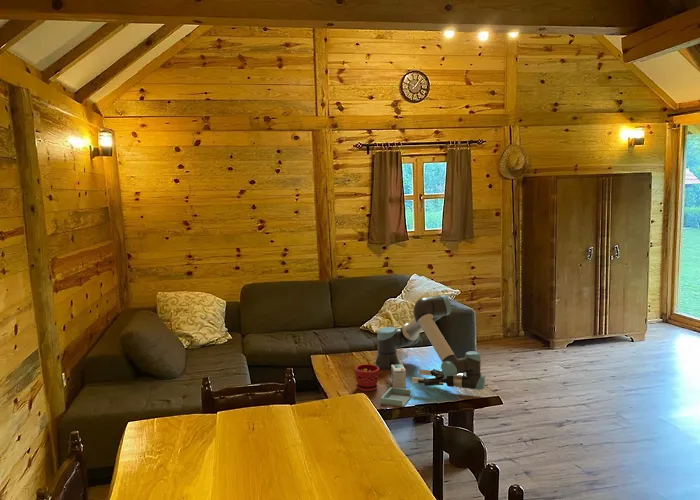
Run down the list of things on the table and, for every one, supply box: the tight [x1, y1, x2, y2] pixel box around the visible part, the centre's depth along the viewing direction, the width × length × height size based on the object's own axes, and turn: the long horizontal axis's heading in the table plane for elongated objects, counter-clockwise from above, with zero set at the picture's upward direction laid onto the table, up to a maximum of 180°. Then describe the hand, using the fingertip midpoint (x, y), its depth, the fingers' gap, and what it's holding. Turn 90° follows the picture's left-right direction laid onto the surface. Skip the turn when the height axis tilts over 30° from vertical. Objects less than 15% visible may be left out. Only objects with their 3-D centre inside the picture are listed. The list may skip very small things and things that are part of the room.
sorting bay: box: [380, 386, 413, 408], centre depth 266 cm, size 12×16×3 cm
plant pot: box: [354, 363, 380, 392], centre depth 282 cm, size 13×13×12 cm
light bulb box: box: [390, 363, 407, 389], centre depth 285 cm, size 11×7×11 cm, turn 5°
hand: (415, 375), depth 281 cm, fingers open, 13 cm apart
